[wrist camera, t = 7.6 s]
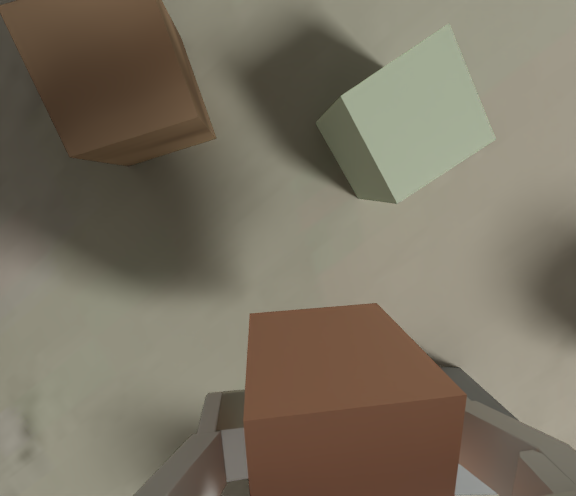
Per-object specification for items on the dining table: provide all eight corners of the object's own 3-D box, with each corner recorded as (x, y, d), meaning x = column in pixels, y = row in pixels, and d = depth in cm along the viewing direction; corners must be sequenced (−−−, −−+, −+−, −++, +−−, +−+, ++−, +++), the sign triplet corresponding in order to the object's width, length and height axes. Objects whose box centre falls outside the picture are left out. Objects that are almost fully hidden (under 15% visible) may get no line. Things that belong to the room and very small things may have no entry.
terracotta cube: (249, 313, 11) (243, 420, 6) (376, 303, 11) (467, 394, 6) (258, 422, 12) (258, 587, 7) (372, 409, 12) (447, 555, 8)
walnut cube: (86, 67, 14) (-4, 6, 9) (181, 38, 14) (143, -37, 10) (128, 166, 15) (69, 157, 11) (216, 138, 16) (198, 117, 11)
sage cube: (314, 123, 16) (340, 96, 11) (390, 73, 16) (449, 23, 11) (357, 198, 17) (397, 203, 12) (427, 152, 17) (496, 139, 12)
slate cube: (395, 364, 20) (439, 421, 15) (459, 367, 21) (521, 422, 16) (381, 424, 21) (419, 495, 16) (443, 425, 22) (497, 494, 17)
